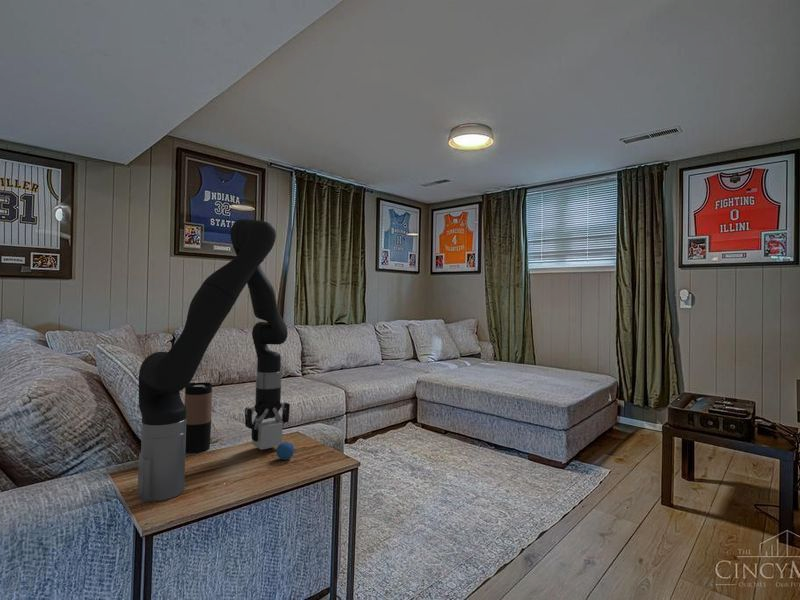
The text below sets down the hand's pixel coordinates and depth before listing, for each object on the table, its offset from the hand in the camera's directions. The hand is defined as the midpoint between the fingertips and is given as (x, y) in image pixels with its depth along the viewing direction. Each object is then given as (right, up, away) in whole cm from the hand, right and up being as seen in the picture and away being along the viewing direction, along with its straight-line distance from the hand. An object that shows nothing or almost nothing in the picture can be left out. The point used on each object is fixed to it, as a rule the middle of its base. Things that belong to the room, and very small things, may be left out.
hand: (267, 438), depth 132 cm
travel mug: (-21, -3, -2) cm, 21 cm away
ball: (+8, -1, -8) cm, 12 cm away
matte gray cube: (0, -2, 0) cm, 2 cm away
